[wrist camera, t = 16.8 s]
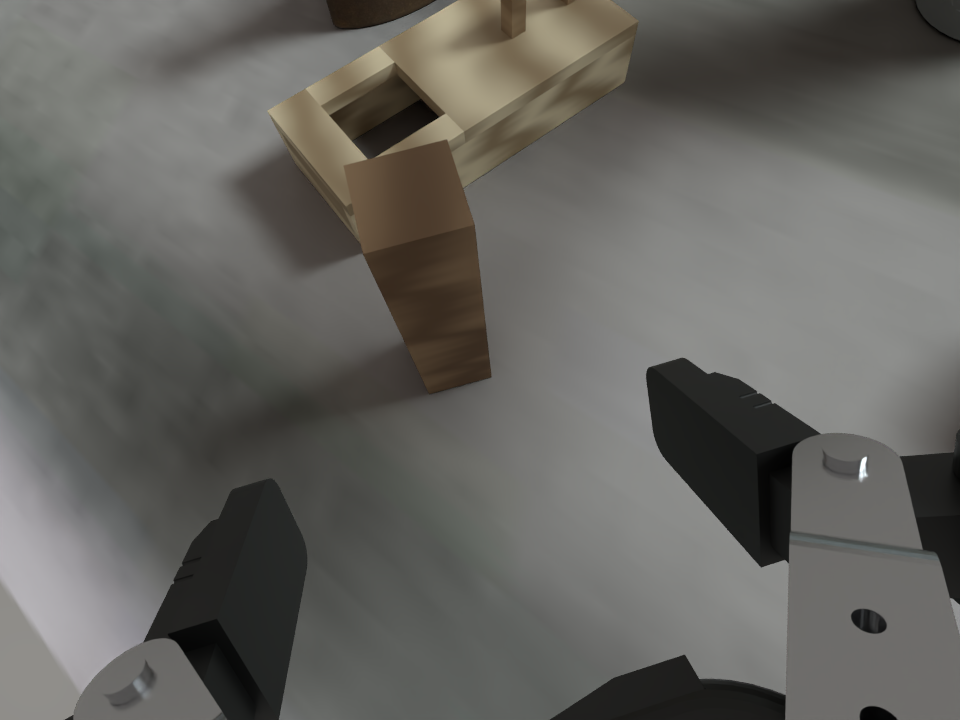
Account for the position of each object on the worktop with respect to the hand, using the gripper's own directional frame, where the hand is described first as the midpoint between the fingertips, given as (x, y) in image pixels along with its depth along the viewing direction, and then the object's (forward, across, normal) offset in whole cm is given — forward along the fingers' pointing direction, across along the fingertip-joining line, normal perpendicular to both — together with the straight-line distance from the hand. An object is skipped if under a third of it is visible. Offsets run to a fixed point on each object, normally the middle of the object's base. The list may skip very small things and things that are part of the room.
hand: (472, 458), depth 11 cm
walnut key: (+22, 0, +7) cm, 23 cm away
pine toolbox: (+35, -6, -6) cm, 36 cm away
